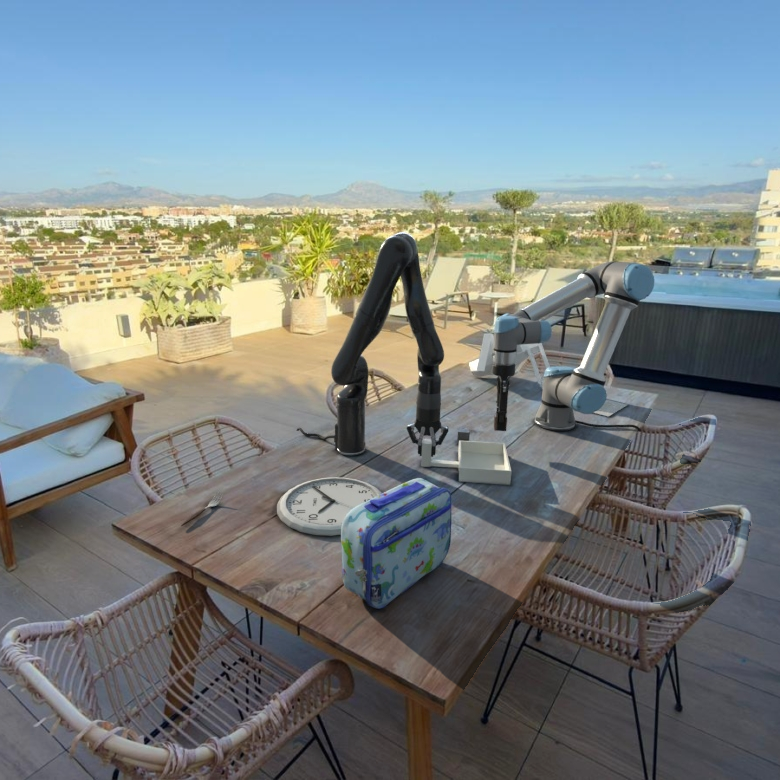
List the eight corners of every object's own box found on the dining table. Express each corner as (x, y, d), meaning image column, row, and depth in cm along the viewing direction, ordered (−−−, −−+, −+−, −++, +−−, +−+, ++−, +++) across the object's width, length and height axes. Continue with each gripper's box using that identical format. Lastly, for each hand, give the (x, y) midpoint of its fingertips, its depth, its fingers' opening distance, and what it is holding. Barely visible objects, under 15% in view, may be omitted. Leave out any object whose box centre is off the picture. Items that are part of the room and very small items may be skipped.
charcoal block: (468, 441, 187) (469, 428, 186) (468, 446, 183) (469, 432, 182) (457, 440, 187) (458, 427, 186) (457, 445, 184) (458, 432, 182)
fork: (176, 526, 131) (176, 519, 130) (217, 497, 145) (217, 491, 145) (185, 528, 130) (184, 521, 130) (225, 499, 145) (224, 492, 144)
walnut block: (505, 426, 184) (506, 413, 182) (506, 431, 180) (507, 417, 179) (493, 426, 184) (494, 413, 183) (494, 430, 181) (495, 417, 179)
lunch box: (370, 622, 101) (370, 527, 94) (335, 595, 108) (333, 505, 102) (455, 565, 118) (460, 481, 112) (420, 544, 125) (423, 465, 119)
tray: (503, 455, 176) (505, 433, 174) (510, 485, 156) (512, 460, 153) (423, 450, 179) (424, 428, 176) (419, 478, 159) (420, 454, 156)
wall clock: (392, 527, 129) (269, 531, 127) (392, 533, 130) (269, 537, 127) (383, 473, 158) (282, 475, 155) (383, 478, 158) (283, 480, 156)
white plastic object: (489, 418, 267) (470, 395, 242) (471, 346, 289) (451, 318, 264) (561, 394, 254) (547, 368, 230) (535, 321, 277) (521, 289, 252)
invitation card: (608, 416, 214) (573, 407, 224) (608, 416, 214) (573, 407, 224) (627, 404, 229) (594, 396, 238) (627, 405, 229) (594, 397, 239)
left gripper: (451, 402, 165) (448, 452, 171) (407, 399, 167) (405, 449, 172) (451, 409, 158) (448, 461, 163) (405, 407, 160) (403, 459, 165)
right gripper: (491, 356, 184) (487, 418, 191) (494, 369, 167) (490, 436, 175) (512, 356, 183) (508, 419, 190) (518, 369, 167) (513, 437, 174)
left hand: (426, 455), depth 168 cm, fingers closed on tray, 3 cm apart
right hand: (500, 427), depth 182 cm, fingers closed on walnut block, 4 cm apart
